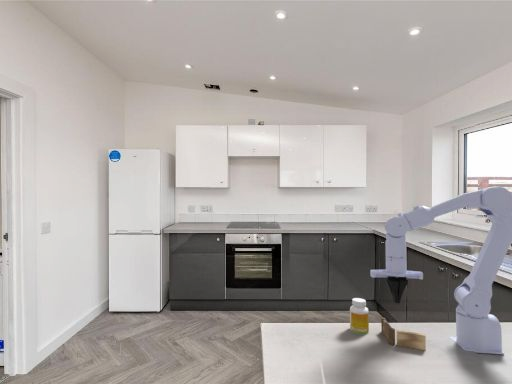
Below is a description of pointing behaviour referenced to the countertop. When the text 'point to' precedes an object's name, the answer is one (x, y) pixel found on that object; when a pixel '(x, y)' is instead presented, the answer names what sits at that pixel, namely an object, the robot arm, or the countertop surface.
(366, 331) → the supplement bottle
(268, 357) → the countertop surface
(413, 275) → the robot arm
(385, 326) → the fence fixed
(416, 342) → the wooden flat block
